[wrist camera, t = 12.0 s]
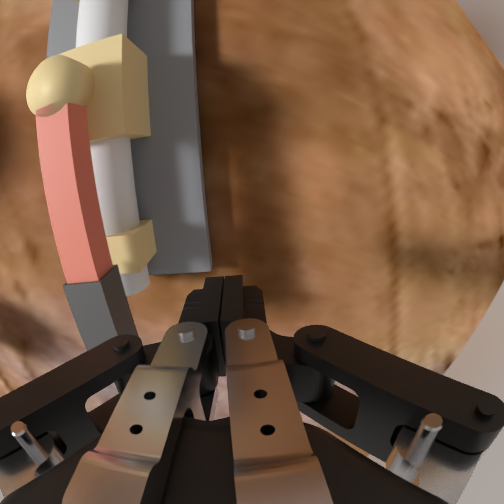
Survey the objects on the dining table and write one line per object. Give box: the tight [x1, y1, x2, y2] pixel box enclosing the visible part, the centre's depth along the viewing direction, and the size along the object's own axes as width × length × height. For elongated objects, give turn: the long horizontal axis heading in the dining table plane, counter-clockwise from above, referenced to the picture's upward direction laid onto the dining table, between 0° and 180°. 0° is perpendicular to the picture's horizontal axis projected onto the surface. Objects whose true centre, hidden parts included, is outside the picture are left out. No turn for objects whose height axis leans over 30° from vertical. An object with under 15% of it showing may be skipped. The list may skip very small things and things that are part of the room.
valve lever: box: [26, 55, 139, 351], centre depth 14 cm, size 17×3×2 cm, turn 6°
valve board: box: [42, 0, 213, 296], centre depth 16 cm, size 26×12×7 cm, turn 4°
